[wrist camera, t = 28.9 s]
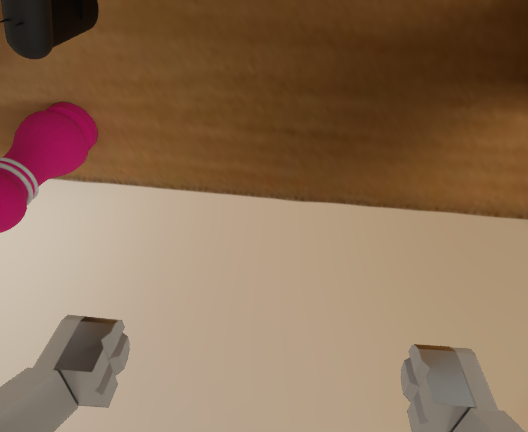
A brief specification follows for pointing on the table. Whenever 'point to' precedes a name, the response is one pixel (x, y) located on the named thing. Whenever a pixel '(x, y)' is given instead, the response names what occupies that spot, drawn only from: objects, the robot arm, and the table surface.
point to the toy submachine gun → (45, 23)
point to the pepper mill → (42, 156)
